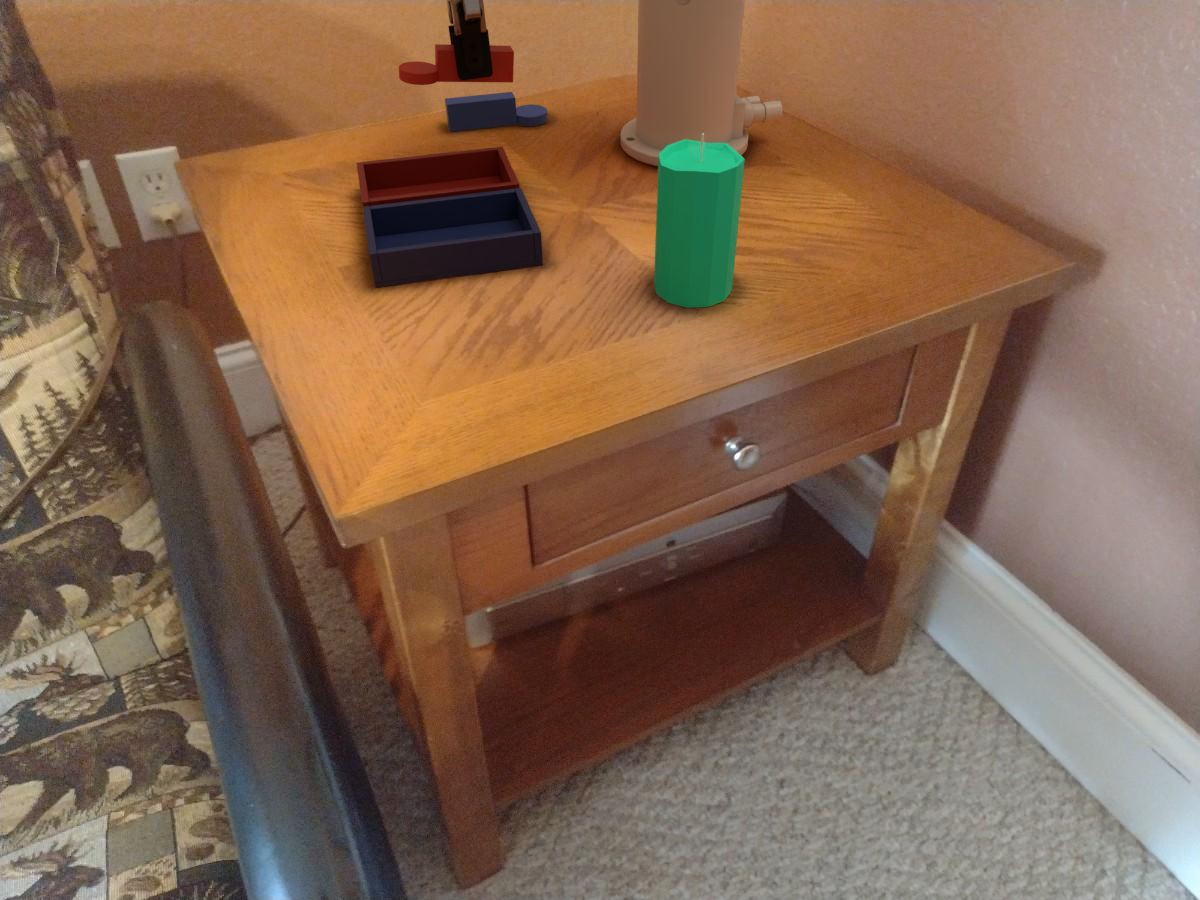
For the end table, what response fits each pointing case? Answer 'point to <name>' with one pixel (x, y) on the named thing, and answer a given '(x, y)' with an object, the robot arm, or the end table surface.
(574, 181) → the end table surface
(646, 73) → the robot arm
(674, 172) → the candle
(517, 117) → the blue spoon
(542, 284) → the end table surface
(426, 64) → the red spoon
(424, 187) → the maroon bin
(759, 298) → the end table surface
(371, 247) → the navy bin
